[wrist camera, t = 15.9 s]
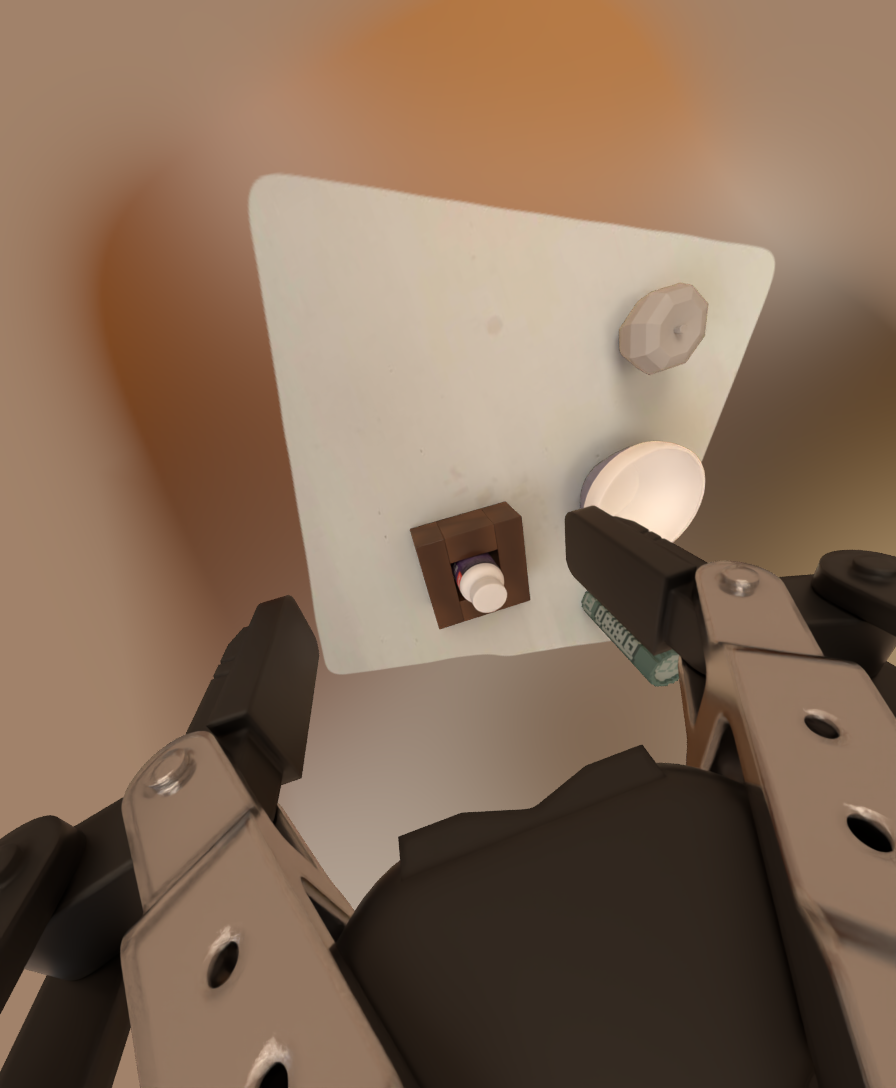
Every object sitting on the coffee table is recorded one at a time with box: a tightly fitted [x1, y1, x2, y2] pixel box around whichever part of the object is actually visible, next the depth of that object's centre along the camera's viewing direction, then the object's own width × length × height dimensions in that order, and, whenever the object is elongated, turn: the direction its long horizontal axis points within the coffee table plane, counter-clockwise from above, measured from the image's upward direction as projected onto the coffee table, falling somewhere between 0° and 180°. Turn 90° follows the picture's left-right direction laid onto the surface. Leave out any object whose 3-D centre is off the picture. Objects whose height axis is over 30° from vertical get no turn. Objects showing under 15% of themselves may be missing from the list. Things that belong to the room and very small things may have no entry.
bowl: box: [580, 441, 705, 543], centre depth 43 cm, size 14×14×8 cm
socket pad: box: [410, 502, 530, 629], centre depth 44 cm, size 13×13×5 cm
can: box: [582, 591, 679, 686], centre depth 49 cm, size 6×6×15 cm
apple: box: [619, 283, 708, 375], centre depth 35 cm, size 8×8×7 cm
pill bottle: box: [450, 552, 507, 613], centre depth 41 cm, size 5×5×10 cm
